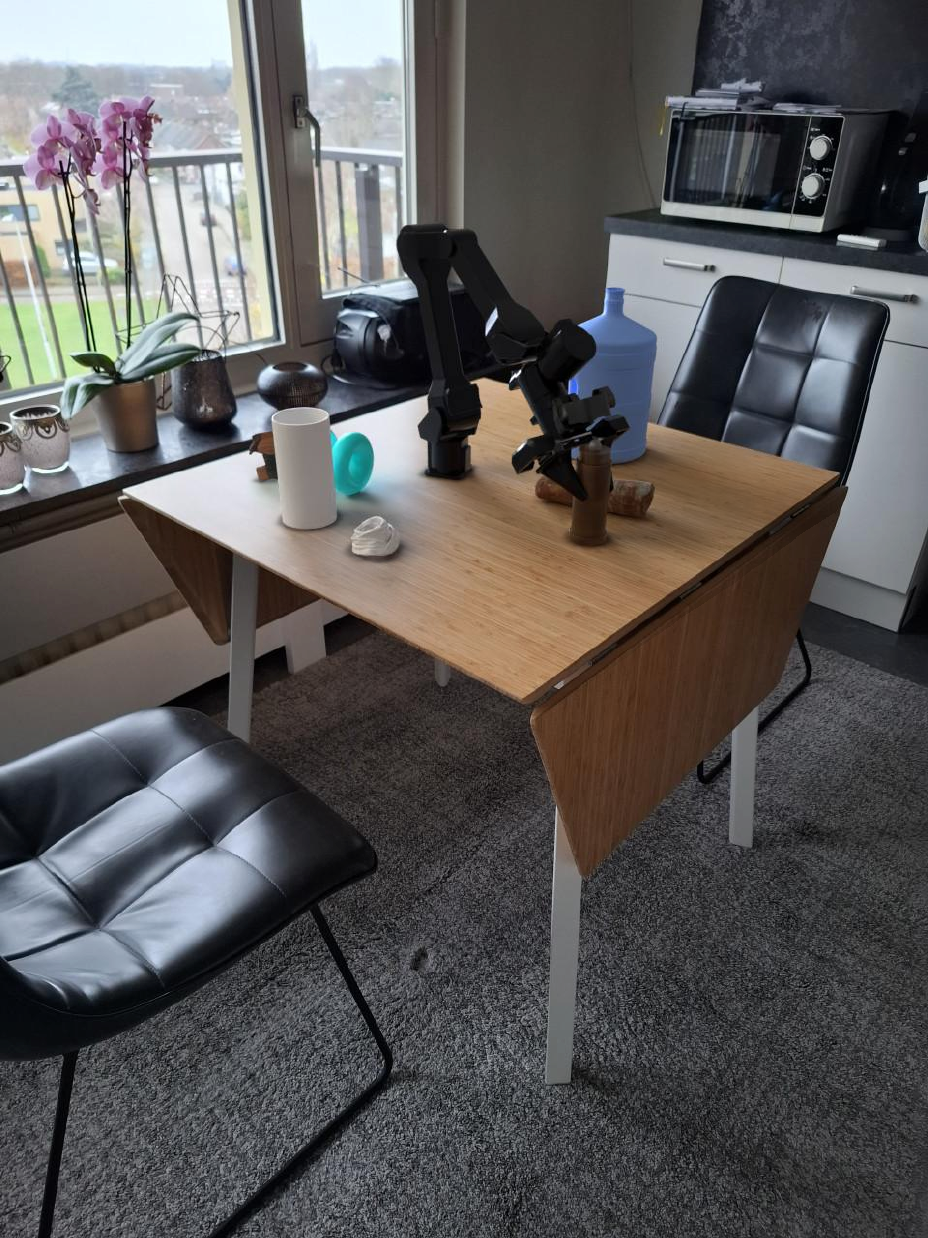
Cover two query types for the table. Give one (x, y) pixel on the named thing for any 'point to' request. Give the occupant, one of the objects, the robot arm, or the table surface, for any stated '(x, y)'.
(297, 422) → the cup
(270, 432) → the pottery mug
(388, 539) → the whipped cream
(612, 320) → the water jug
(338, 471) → the donuts
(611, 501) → the brown cylinder
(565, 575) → the table surface
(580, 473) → the pepper mill
